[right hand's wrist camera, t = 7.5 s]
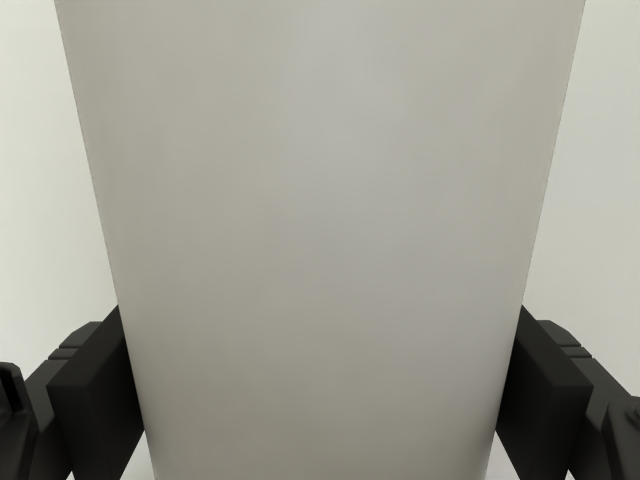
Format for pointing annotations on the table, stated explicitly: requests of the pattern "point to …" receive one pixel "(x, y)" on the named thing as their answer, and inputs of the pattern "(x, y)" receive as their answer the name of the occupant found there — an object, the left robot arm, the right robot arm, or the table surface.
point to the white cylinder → (319, 221)
